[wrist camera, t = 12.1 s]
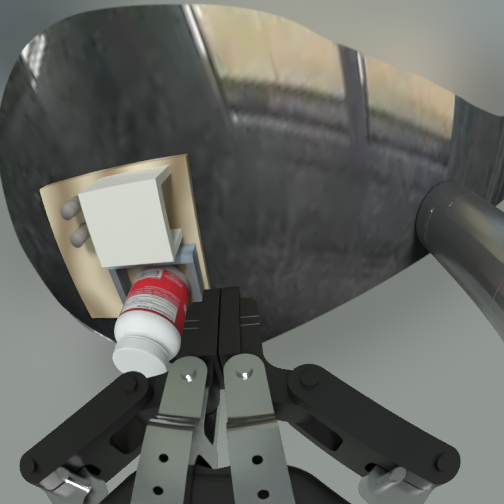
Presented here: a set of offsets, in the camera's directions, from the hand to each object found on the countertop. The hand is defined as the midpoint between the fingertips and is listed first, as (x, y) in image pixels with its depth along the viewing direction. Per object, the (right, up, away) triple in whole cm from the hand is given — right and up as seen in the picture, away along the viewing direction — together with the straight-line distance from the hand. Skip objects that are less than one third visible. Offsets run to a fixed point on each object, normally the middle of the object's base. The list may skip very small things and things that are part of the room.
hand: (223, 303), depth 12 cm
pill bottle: (-8, -1, +17) cm, 19 cm away
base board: (-12, +3, +16) cm, 20 cm away
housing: (-9, +6, +12) cm, 16 cm away
